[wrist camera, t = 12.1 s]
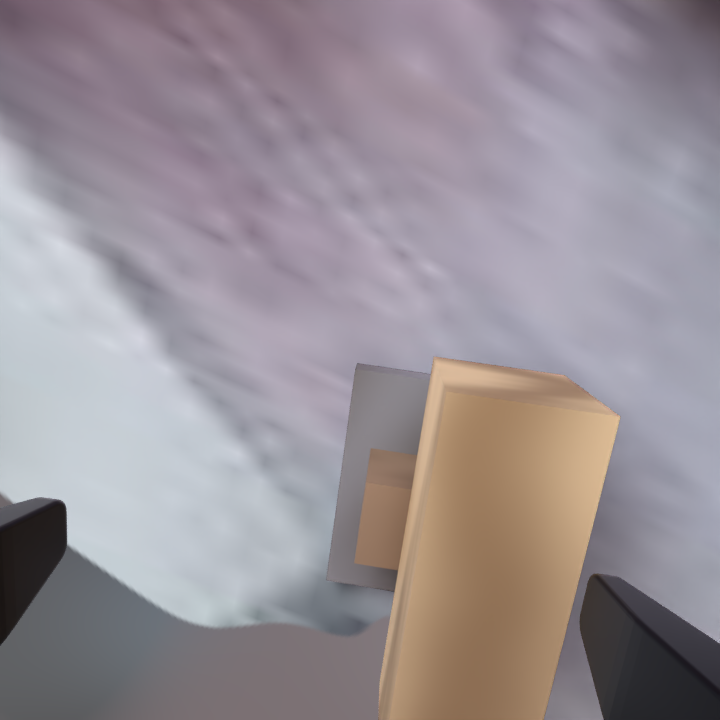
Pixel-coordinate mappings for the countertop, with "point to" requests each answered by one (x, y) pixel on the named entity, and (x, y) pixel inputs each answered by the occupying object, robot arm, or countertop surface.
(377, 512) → the balance stand
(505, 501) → the oak bar
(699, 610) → the countertop surface
